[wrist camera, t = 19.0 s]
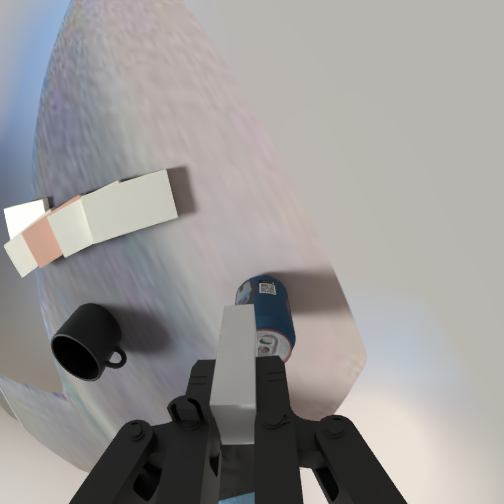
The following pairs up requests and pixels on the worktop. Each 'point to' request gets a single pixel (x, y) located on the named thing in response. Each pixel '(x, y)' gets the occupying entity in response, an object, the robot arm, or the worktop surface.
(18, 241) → the domino
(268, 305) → the soda can
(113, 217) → the domino
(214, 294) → the worktop surface
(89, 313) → the mug
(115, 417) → the worktop surface
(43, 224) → the domino
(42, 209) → the domino
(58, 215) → the domino
